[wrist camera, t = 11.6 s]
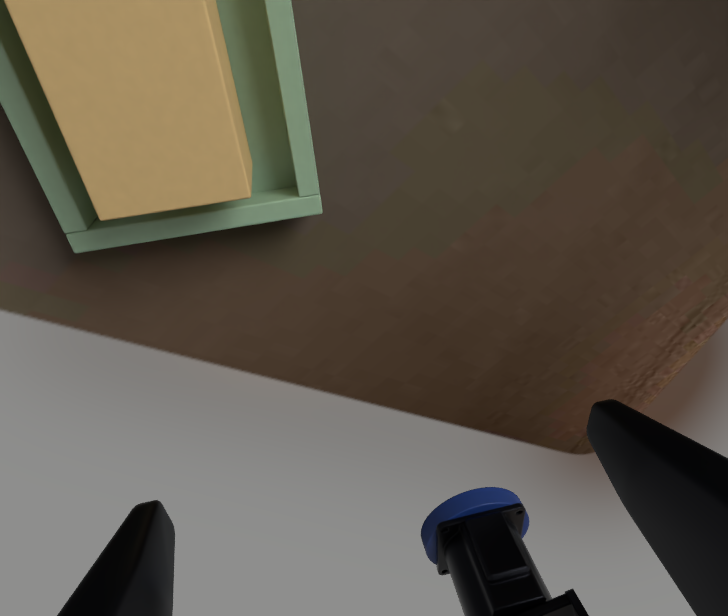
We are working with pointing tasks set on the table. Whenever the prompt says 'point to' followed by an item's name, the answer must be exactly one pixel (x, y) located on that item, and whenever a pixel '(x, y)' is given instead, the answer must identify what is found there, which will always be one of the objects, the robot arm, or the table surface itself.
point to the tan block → (141, 100)
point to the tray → (260, 117)
